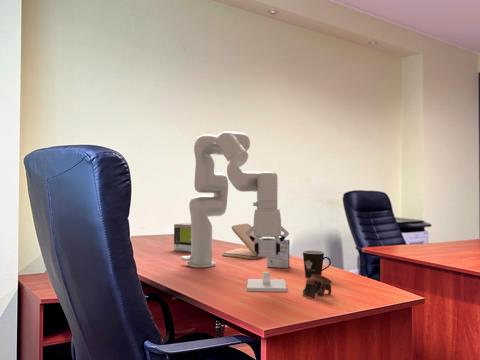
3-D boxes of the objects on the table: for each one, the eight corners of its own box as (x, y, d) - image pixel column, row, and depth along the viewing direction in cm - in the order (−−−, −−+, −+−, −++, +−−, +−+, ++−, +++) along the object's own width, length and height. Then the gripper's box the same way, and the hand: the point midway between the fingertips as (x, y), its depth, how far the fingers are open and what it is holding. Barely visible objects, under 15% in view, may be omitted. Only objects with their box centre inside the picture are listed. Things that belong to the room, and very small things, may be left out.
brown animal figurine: (296, 294, 156) (304, 272, 159) (320, 305, 157) (327, 284, 160) (310, 294, 145) (318, 270, 147) (335, 306, 146) (343, 282, 149)
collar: (258, 257, 161) (258, 240, 161) (258, 254, 168) (258, 238, 168) (276, 257, 161) (276, 240, 161) (275, 254, 168) (275, 238, 168)
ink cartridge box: (289, 266, 204) (290, 234, 204) (288, 268, 199) (289, 235, 199) (268, 265, 206) (268, 233, 206) (266, 267, 201) (267, 235, 201)
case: (255, 260, 219) (256, 227, 219) (219, 256, 229) (220, 225, 229) (273, 254, 237) (274, 224, 237) (239, 251, 247) (239, 222, 247)
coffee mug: (298, 275, 185) (298, 251, 185) (316, 273, 188) (316, 250, 188) (314, 281, 174) (314, 255, 174) (332, 279, 177) (332, 254, 177)
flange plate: (246, 291, 158) (247, 276, 158) (247, 281, 172) (248, 268, 172) (286, 291, 158) (286, 277, 158) (284, 282, 172) (284, 269, 172)
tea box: (206, 250, 247) (206, 223, 247) (194, 252, 238) (195, 225, 238) (184, 248, 255) (185, 222, 255) (173, 250, 246) (173, 223, 246)
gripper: (243, 205, 161) (243, 255, 161) (291, 206, 161) (291, 256, 160) (244, 205, 169) (244, 252, 169) (290, 205, 168) (290, 252, 168)
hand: (267, 253), depth 165 cm, fingers closed on collar, 6 cm apart
